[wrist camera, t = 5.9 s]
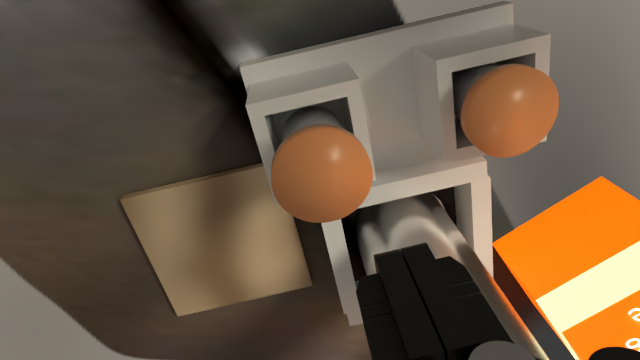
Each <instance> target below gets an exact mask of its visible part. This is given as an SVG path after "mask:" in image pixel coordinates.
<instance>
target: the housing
mask: <svg viewBox="0 0 640 360" xmlns="http://www.w3.org/2000/svg"><path fill="white" fill-rule="evenodd" d="M550 44H551V34H549V33H546V32H541V31H537V30H533V29H529V28H525V27H521V26H516V25H514V3H512V2H505V1H501V2H497V3H493V4H489V5H484V6H481V7H476V8H472V9H468V10H463V11H459V12H455V13H451V14H446V15H442V16H438V17H434V18H429V19H425V20H421V21H417V22H413V23H408V24H404V25H400V26H395V27H391V28H387V29H383V30H378V31H374V32H370V33H366V34H361V35H357V36H353V37H349V38H344V39H340V40H336V41H332V42H327V43H323V44H319V45H315V46H310V47H306V48H302V49H298V50H293V51H289V52H285V53H281V54H276V55H272V56H268V57H264V58H259V59H255V60H251V61H247V62H242V63H241V64H240V67H239V68H240V71H241V75H242V78H243V82H244V85H245V88H246V92H247V95H248V96H247V100H246V105H245V106H246V109H247V112H248V116H249V119H250V122H251V126H252V129H253V132H254V135H255V139H256V142H257V145H258V149H259V152H260V155H261V159H262V162H263V165H264V169H265V172H266V175H267V178H268V182H269V185H270V188H271V192H272V195H273V198H274V202H275V204H276V203H278V201H277V200H276V198H275V196H274V193H273V190H272V186H271V165H272V160H273V157H274V154H275V152H276V150H277V149H278V147H279V146H280V144H281V143H282V129H283V126H284V124H285V122H286V120H287V119H288V118H289V117H290V115H291V114H293V113H294V112H295V111H297V110H299V109H301V108H304V107H309V106H319V107H323V108H326V109H328V110H330V111H331V112H333V113H334V114H335V115H336V116H337V117H338V119H339V120H340V122H341V124H342V127H343V129H345V130H347V131H349V132H350V133H352V134H353V135H354V136H355V137H356V138H357V139H358V140H359V141H360V142H361V143H362V145H363V147H364V148H365V150H366V152H367V154H368V156H369V159H370V161H371V165H372V170H373V180H372V185H371V188H370V191H369V193H368V195H367V197H366V199H365V200H364V202H363V203H362V204H361V205H360V206H359V207H358V208H362V207H367V206H371V205H375V204H380V203H384V202H388V201H393V200H397V199H401V198H406V197H410V196H414V195H419V194H423V193H427V192H432V191H436V190H440V189H445V188H449V187H453V186H454V195H455V209H456V223H457V228H458V229H459V230H460V232H461V233H462V235H463V236H464V238H465V239H466V240H467V242H468V243H469V245H470V246H471V248H472V249H473V250H474V252H475V253H476V255H477V256H478V258H479V259H480V260H481V262H482V263H483V265H484V266H485V268H486V269H487V270H488V272H489V273H490V275H491V276H492V278H493V248H492V210H491V178H490V177H489V176H488V175H487V160H486V159H484V158H483V157H482V156H483V155H487V154H485V153H483V152H482V151H480V150H479V149H478V148H477V147H475V146H474V145H473V144H472V143H471V142H470V141H469V140H468V139H467V137H466V136H465V134H464V132H463V129H462V126H461V120H460V119H459V118H458V117H457V116H455V115H454V100H453V85H452V72H455V71H459V70H463V69H468V68H472V67H476V66H480V65H485V64H489V63H492V64H495V65H497V66H502V65H506V64H523V65H527V66H529V67H532V68H535V69H537V70H539V71H542V72H543V73H545V74H546V75H548V76H549V69H550ZM546 140H547V135H546V136H545V137H544V138H543V139H542V140H541V141H540V142H544V141H546ZM358 208H357V209H358ZM321 224H322V228H323V232H324V236H325V240H326V244H327V248H328V252H329V256H330V260H331V264H332V268H333V272H334V276H335V280H336V284H337V289H338V293H339V297H340V301H341V305H342V309H343V313H344V314H347V317H348V321H349V325H350V326H353V325H358V324H362V323H363V320H362V316H361V312H360V307H359V303H358V299H357V295H356V290H357V286H358V283H359V280H358V281H354V276H353V272H352V267H351V263H350V258H349V254H348V249H347V245H346V240H345V236H344V231H343V227H342V222H341V219H339V220H336V221H332V222H326V223H321Z"/></svg>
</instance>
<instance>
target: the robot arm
mask: <svg viewBox="0 0 640 360" xmlns="http://www.w3.org/2000/svg"><path fill="white" fill-rule="evenodd" d="M373 257H374V262H375V267H376V272H377V273H376V274H372V275H367V276H363V277H360V279H359V283H358V286H357V290H356V295H357V299H358V303H359V307H360V312H361V316H362V320H363V324H364V328H365V333H366V337H367V341H368V345H369V349H370V353H371V357H372V360H543V359H540V358H537V357H534V356H533V355H532V354H531V353H529V352H528V351H527V350H526V349H524V348H522V347H521V346H519V345H516V344H515V343H514V342H513V341H512V339H511V338H510V337H509V335H508V333H507V332H506V330H505V329H504V327H503V326H502V324H501V322H500V321H499V319H498V318H497V316H496V315H495V313H494V311H493V310H492V308H491V307H490V305H489V304H488V302H487V300H486V299H485V297H484V296H483V294H481V291H480V289H479V288H478V286H477V285H476V283H474V280H473V278H472V277H471V275H470V274H469V272H468V270H467V269H466V267H465V266H464V265H462V264H461V263H460V262H458V261H457V260H455V259H454V258H452V257H451V256H447V257H443V258H439V259H435V257H434V255H433V253H432V252H431V250H430V248H429V246H428V244H427V243H426V242H425V243H421V244H416V245H412V246H408V247H404V248H400V250H399V249H396V250H392V251H387V252H383V253H379V254H375V255H373ZM588 360H640V352H639V351H637V350H634V349H630V348H626V347H605V348H601V349H599V350H597V351H595V352H594V353H593V354H591V356H590V357H589V359H588Z"/></svg>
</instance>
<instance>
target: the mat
mask: <svg viewBox="0 0 640 360" xmlns="http://www.w3.org/2000/svg"><path fill="white" fill-rule="evenodd" d="M120 202H121V204H122V206H123V208H124V210H125V212H126V214H127V216H128V218H129V220H130V222H131V224H132V226H133V228H134V230H135V232H136V234H137V236H138V238H139V240H140V242H141V244H142V246H143V248H144V250H145V252H146V254H147V256H148V258H149V260H150V262H151V264H152V266H153V268H154V270H155V272H156V274H157V276H158V278H159V280H160V282H161V284H162V286H163V288H164V290H165V292H166V294H167V296H168V298H169V300H170V302H171V304H172V306H173V308H174V310H175V312H176V314H177V316H183V315H187V314H191V313H196V312H200V311H204V310H209V309H213V308H217V307H222V306H226V305H231V304H235V303H239V302H244V301H248V300H252V299H257V298H261V297H265V296H270V295H274V294H279V293H283V292H287V291H292V290H296V289H300V288H305V287H309V286H312V280H311V276H310V273H309V269H308V265H307V262H306V258H305V255H304V251H303V248H302V244H301V241H300V237H299V234H298V230H297V227H296V223H295V220H294V216H292V215H291V214H289V213H288V212H287V211H285V210H284V209H283V208H282V207H281V205H280V204H279V203H276V204H275V202H274V198H273V195H272V192H271V188H270V185H269V182H268V178H267V175H266V172H265V169H264V165H263V163H259V164H255V165H250V166H246V167H242V168H237V169H233V170H229V171H224V172H220V173H216V174H212V175H207V176H203V177H199V178H194V179H190V180H186V181H182V182H177V183H173V184H169V185H164V186H160V187H156V188H151V189H147V190H143V191H139V192H134V193H130V194H126V195H123V196H122V197H121V199H120Z"/></svg>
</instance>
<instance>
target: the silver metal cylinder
mask: <svg viewBox="0 0 640 360" xmlns="http://www.w3.org/2000/svg"><path fill="white" fill-rule="evenodd" d="M355 237H356V241H357V245H358V248H359V251H360V255H361V258H362V262H363V265H364V268H365V272H366V275H372V274H376V273H377V272H376V267H375V262H374V257H373V255H375V254H379V253H383V252H387V251H392V250H396V249H399V250H400V248H404V247H408V246H412V245H416V244H421V243H425V242H426V243H427V244H428V246H429V248H430V250H431V252H432V253H433V255H434V257H435V259H439V258H443V257H447V256H451V257H452V258H454V259H455V260H457V261H458V262H460V263H461V264H462V265H464V266H465V267H466V269H467V270H468V272H469V274H470V275H471V277H472V278H473V280H474V283H476V285H477V286H478V288H479V289H480V291H481V294H483V296H484V297H485V299H486V300H487V302H488V304H489V305H490V307H491V308H492V310H493V311H494V313H495V315H496V316H497V318H498V319H499V321H500V322H501V324H502V326H503V327H504V329H505V330H506V332H507V333H508V335H509V337H510V338H511V339H512V341H513V342H514V343H515V344H516V345H519V346H521V347H522V348H524V349H526V350H527V351H528V352H529V353H531V354H532V355H533V356H534V357H537V358H540V359H543V360H550V359H549V357H548V356H547V355H546V353H545V352H544V350H543V349H542V347H541V346H540V345H539V343H538V342H537V340H536V339H535V338H534V336H533V335H532V333H531V332H530V330H529V329H528V328H527V326H526V325H525V323H524V322H523V320H522V319H521V318H520V316H519V315H518V313H517V312H516V310H515V309H514V308H513V306H512V305H511V303H510V302H509V300H508V299H507V298H506V296H505V295H504V293H503V292H502V290H501V289H500V288H499V286H498V285H497V283H496V282H495V280H494V279H493V278H492V276H491V275H490V273H489V272H488V270H487V269H486V268H485V266H484V265H483V263H482V262H481V260H480V259H479V258H478V256H477V255H476V253H475V252H474V250H473V249H472V248H471V246H470V245H469V243H468V242H467V240H466V239H465V238H464V236H463V235H462V233H461V232H460V230H459V229H458V228H457V226H456V225H455V223H454V222H453V220H452V219H451V218H450V216H449V215H448V213H447V212H446V210H445V208H444V206H443V204H442V202H441V201H440V200H439V199H438V198H437V197H436V196H435V195H434V194H433V193H432V192H427V193H423V194H419V195H414V196H410V197H406V198H401V199H397V200H393V201H388V202H384V203H380V204H375V205H371V206H367V207H362V209H361V210H360V212H359V214H358V217H357V219H356V222H355Z"/></svg>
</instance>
